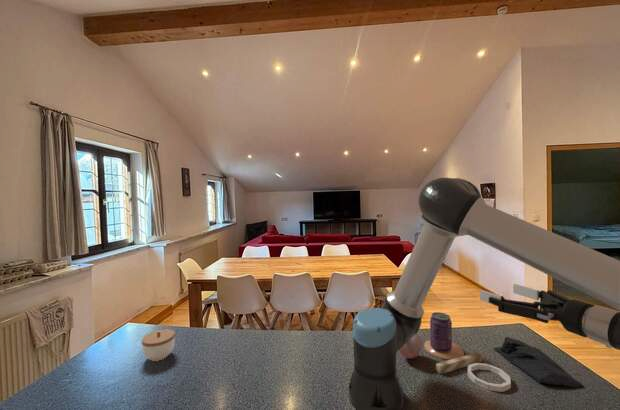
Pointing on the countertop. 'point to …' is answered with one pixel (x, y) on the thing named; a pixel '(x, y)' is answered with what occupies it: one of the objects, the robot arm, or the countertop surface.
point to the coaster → (448, 355)
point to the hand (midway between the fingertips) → (497, 291)
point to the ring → (484, 384)
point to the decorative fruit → (411, 347)
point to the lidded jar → (158, 344)
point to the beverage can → (441, 332)
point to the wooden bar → (458, 362)
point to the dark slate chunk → (535, 363)
